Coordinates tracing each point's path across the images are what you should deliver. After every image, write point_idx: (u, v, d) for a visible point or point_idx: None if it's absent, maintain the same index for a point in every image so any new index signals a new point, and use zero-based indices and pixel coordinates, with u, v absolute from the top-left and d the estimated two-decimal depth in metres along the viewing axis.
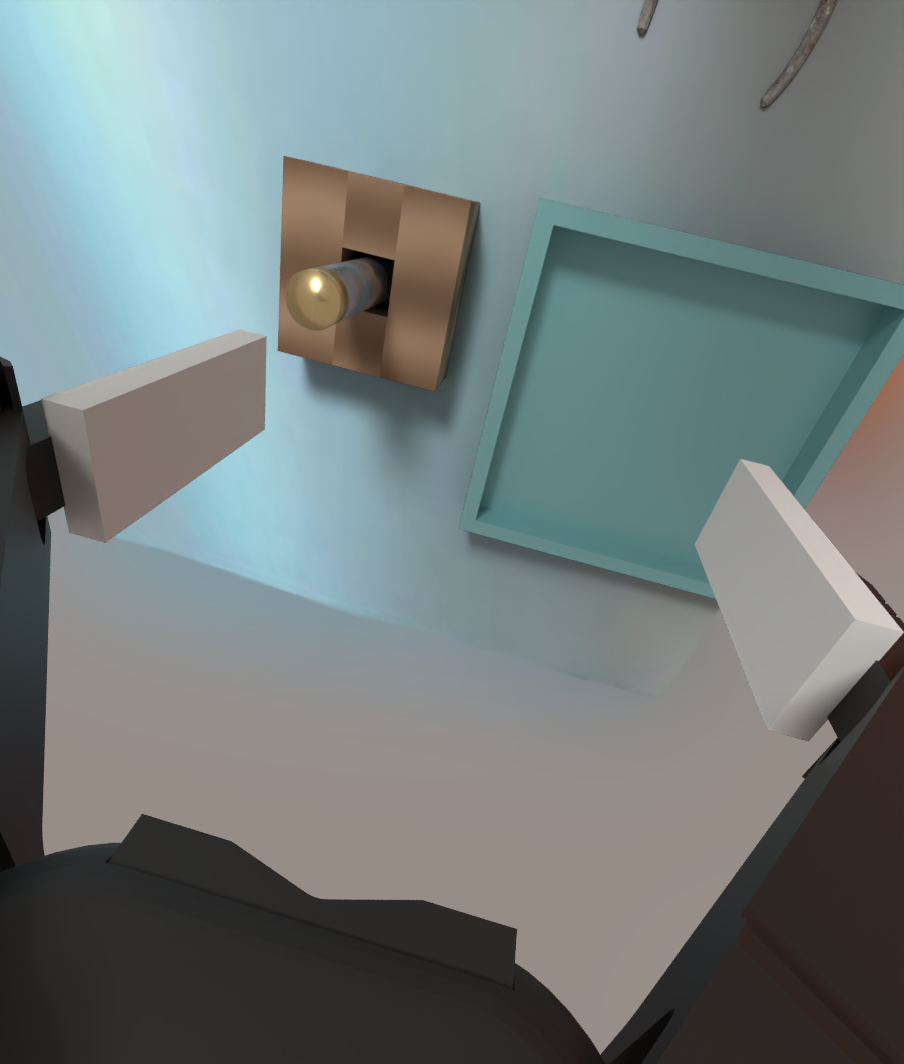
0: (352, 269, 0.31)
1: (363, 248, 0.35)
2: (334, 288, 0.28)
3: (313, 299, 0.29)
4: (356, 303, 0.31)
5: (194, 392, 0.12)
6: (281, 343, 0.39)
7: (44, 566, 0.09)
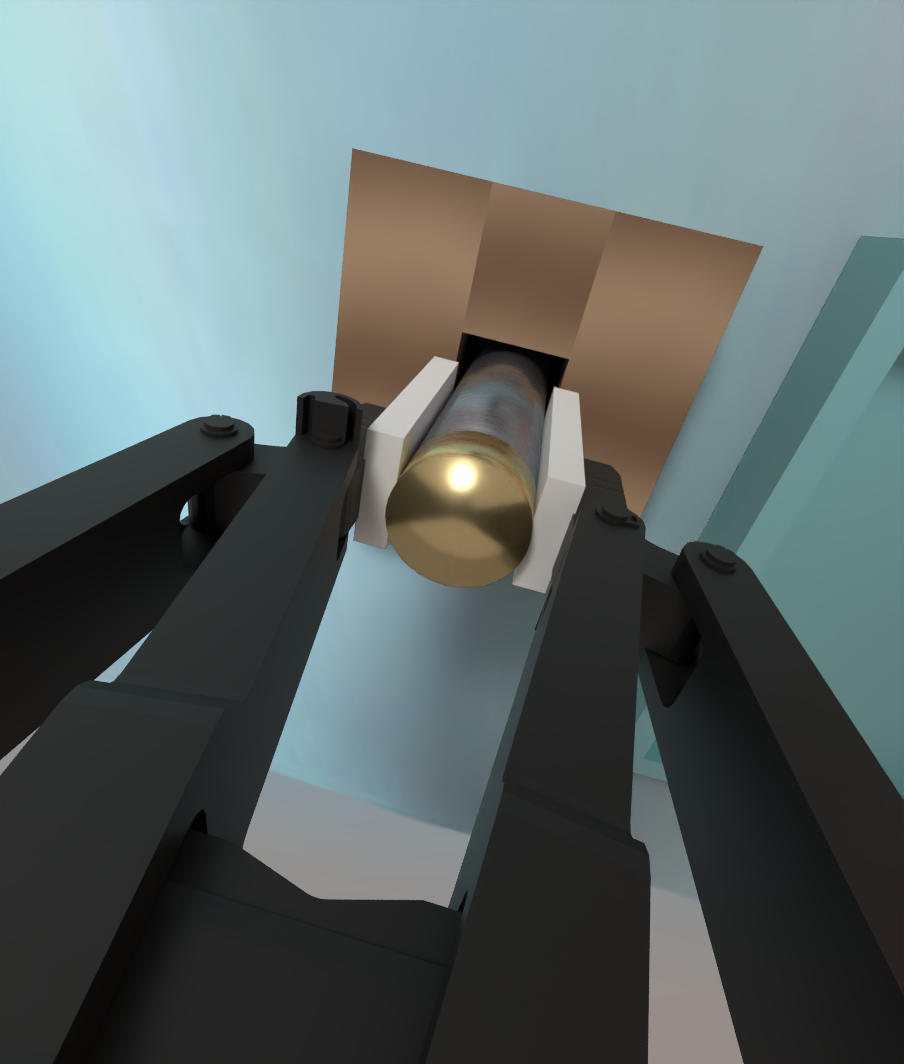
0: (520, 407, 0.14)
1: (506, 335, 0.17)
2: (525, 503, 0.10)
3: (461, 523, 0.11)
4: None
5: (431, 416, 0.14)
6: None
7: (330, 580, 0.10)
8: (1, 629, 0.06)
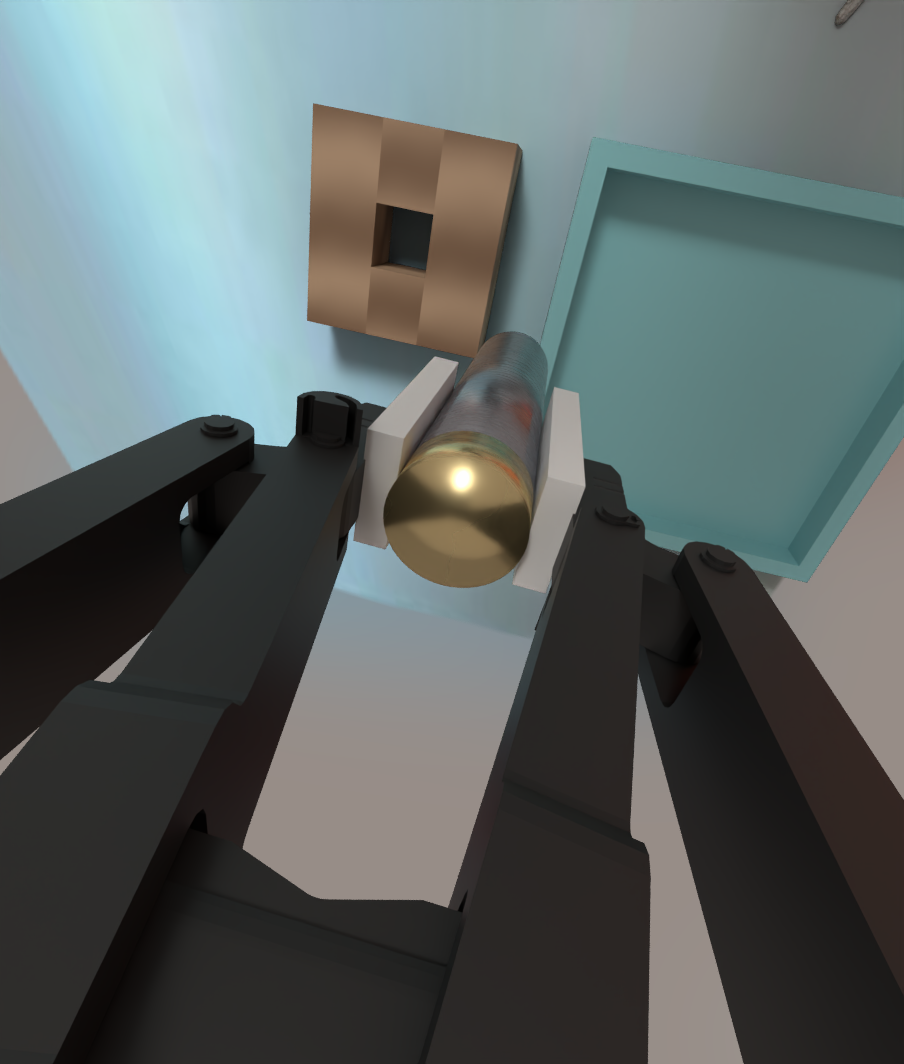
0: (518, 407, 0.14)
1: (399, 202, 0.33)
2: (522, 503, 0.10)
3: (459, 523, 0.11)
4: None
5: (431, 416, 0.14)
6: (311, 312, 0.37)
7: (331, 580, 0.10)
8: (1, 629, 0.06)
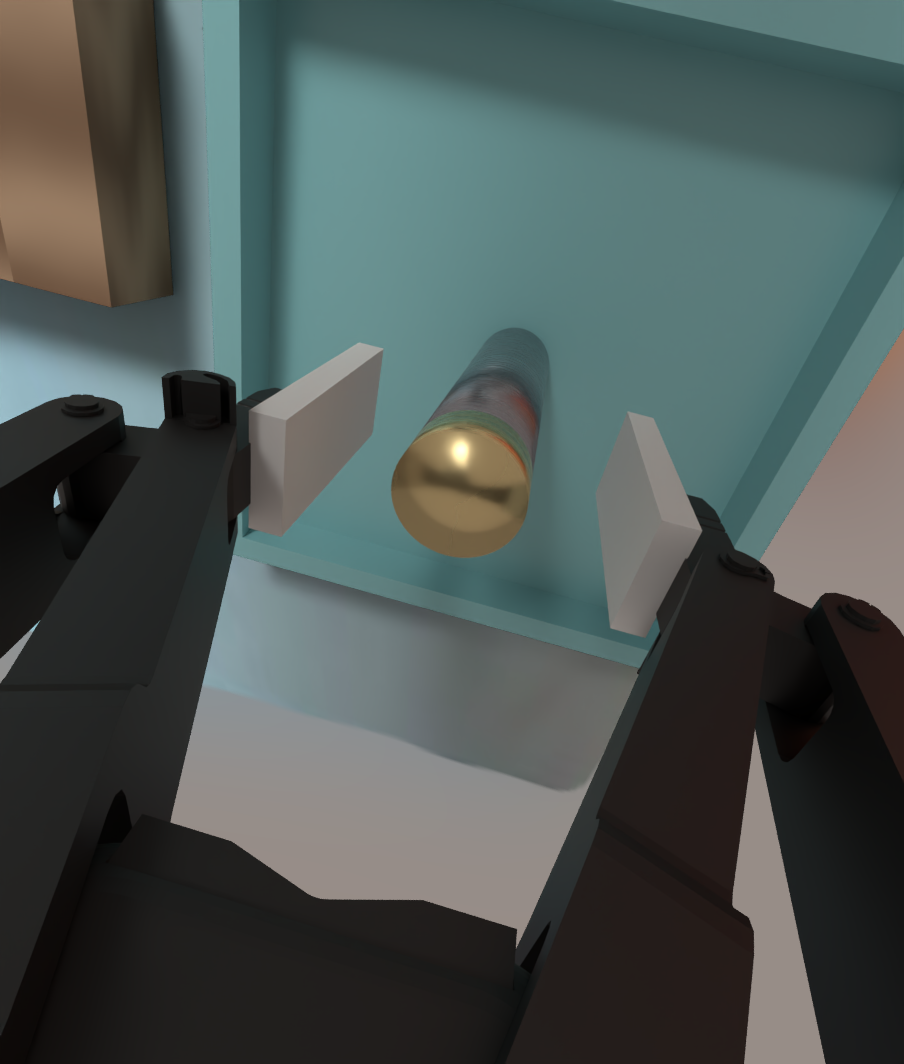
0: (519, 393, 0.15)
1: None
2: (521, 475, 0.11)
3: (462, 495, 0.12)
4: None
5: (341, 401, 0.13)
6: None
7: (225, 564, 0.10)
8: None
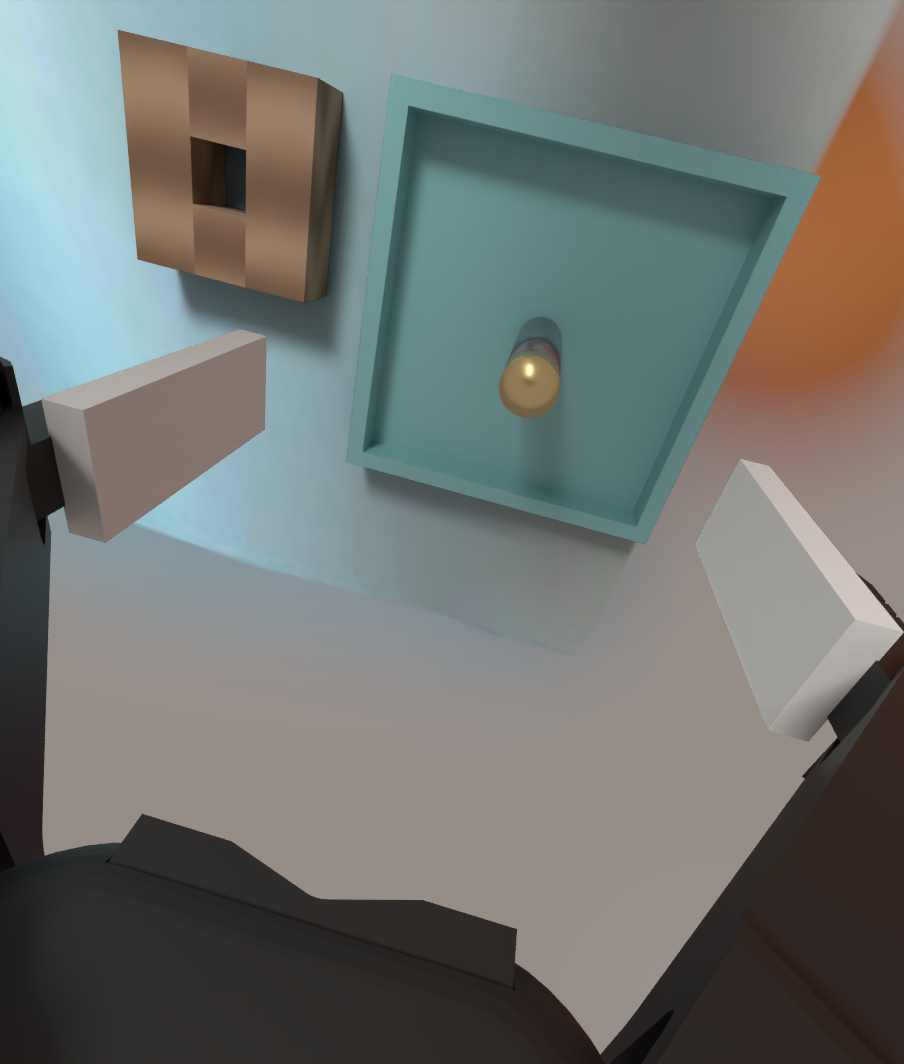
0: (551, 347, 0.30)
1: (212, 137, 0.33)
2: (557, 376, 0.26)
3: (531, 386, 0.27)
4: None
5: (194, 392, 0.12)
6: (140, 250, 0.37)
7: (44, 566, 0.09)
8: None
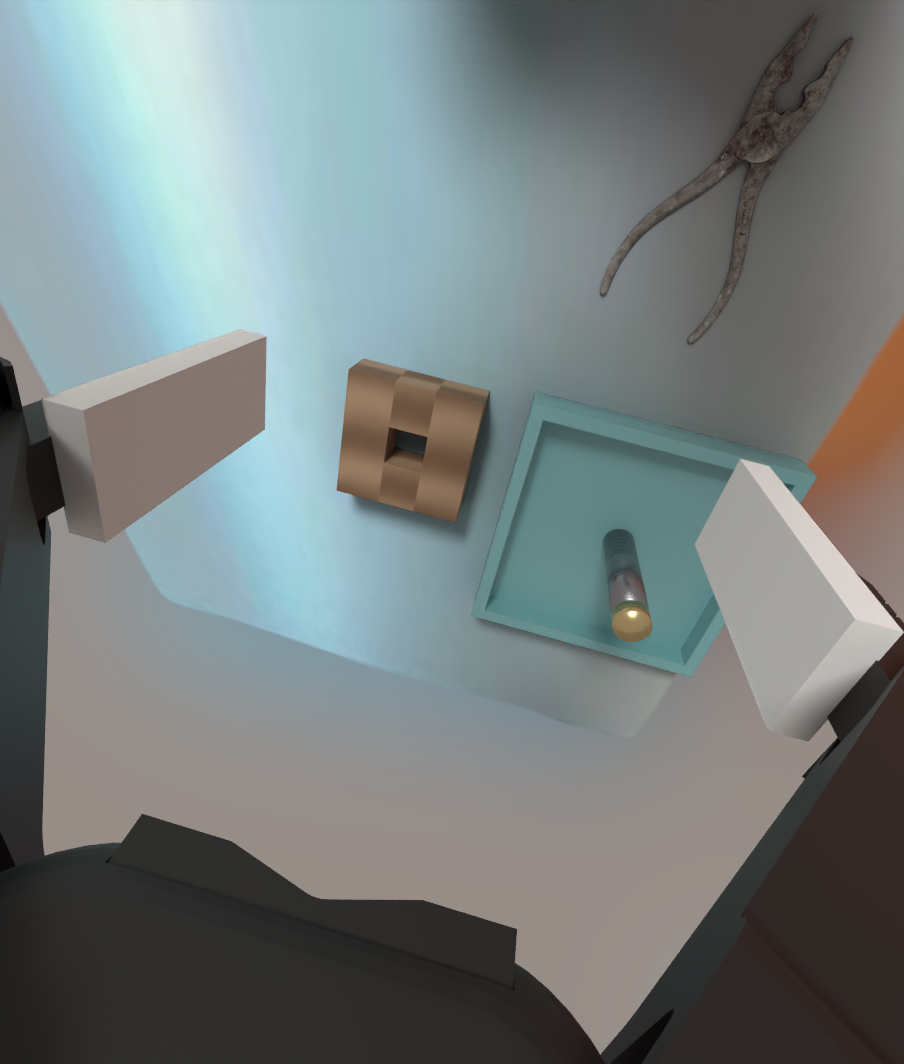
0: (640, 584, 0.45)
1: (404, 428, 0.48)
2: (651, 622, 0.42)
3: (633, 626, 0.42)
4: None
5: (194, 392, 0.12)
6: (339, 485, 0.52)
7: (44, 566, 0.09)
8: None
